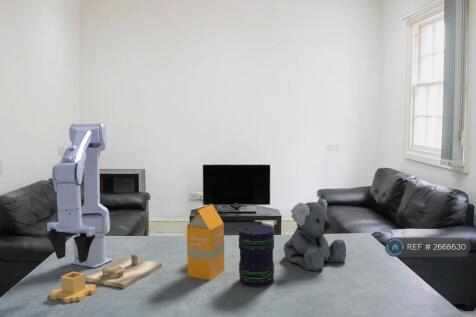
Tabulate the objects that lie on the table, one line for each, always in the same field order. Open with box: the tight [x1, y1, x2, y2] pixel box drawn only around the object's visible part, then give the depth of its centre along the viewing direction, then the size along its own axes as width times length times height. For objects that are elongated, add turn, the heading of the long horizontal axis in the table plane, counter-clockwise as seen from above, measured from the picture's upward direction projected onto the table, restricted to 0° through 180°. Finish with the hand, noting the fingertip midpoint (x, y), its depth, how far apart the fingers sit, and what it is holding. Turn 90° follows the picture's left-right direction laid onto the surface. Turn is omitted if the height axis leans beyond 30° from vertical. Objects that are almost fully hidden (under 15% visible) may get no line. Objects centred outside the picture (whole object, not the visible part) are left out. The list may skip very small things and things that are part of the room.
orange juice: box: [186, 203, 225, 281], centre depth 132 cm, size 8×9×20 cm
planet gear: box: [49, 271, 98, 304], centre depth 119 cm, size 10×10×5 cm
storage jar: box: [238, 224, 275, 289], centre depth 126 cm, size 10×10×15 cm
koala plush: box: [283, 198, 347, 272], centre depth 142 cm, size 17×18×20 cm
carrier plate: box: [85, 253, 162, 289], centre depth 133 cm, size 14×18×4 cm
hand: (72, 259), depth 118 cm, fingers open, 7 cm apart
